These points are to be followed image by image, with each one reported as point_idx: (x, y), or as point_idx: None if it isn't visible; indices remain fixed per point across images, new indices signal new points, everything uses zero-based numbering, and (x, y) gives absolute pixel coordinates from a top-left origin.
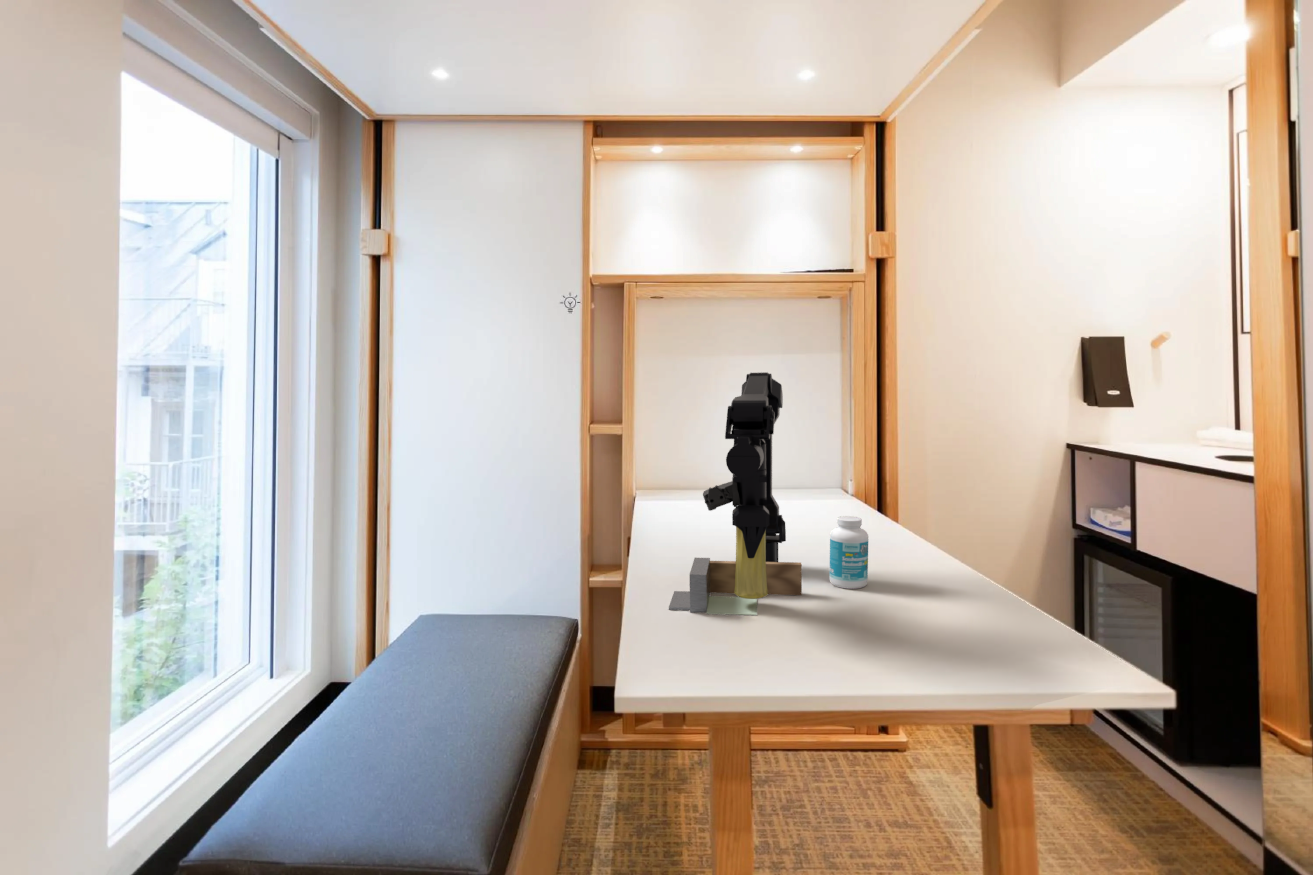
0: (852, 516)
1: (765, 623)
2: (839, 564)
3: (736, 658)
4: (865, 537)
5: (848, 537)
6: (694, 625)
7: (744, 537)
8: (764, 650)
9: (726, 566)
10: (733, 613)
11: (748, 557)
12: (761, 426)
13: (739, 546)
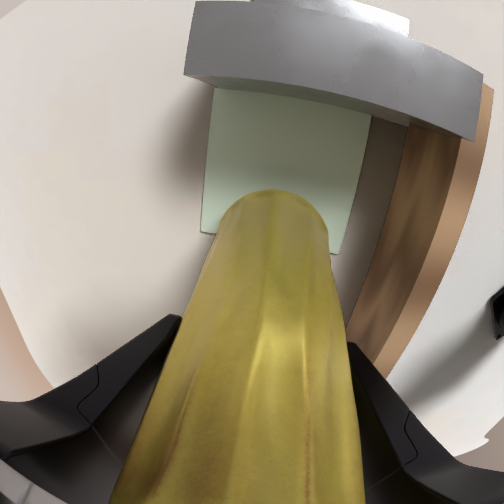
0: None
1: (151, 240)
2: None
3: (13, 168)
4: None
5: None
6: (133, 63)
7: (73, 383)
8: (40, 216)
9: (437, 203)
10: (207, 167)
11: (169, 316)
12: None
13: (206, 320)
